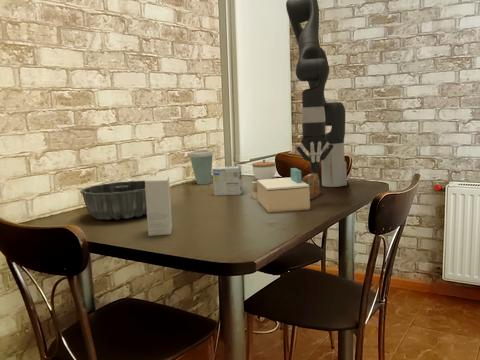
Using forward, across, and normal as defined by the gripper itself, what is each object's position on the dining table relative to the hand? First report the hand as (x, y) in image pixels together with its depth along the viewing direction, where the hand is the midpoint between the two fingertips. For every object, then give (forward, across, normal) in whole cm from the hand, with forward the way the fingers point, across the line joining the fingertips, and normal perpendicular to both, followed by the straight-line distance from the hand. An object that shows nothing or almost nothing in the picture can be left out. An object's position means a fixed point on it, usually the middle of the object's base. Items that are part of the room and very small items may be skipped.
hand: (314, 173), depth 162 cm
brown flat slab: (+11, -2, -12) cm, 16 cm away
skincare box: (+11, +51, +20) cm, 56 cm away
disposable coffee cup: (+10, +35, -64) cm, 73 cm away
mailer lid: (+3, +11, -1) cm, 12 cm away
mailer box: (+10, +11, -1) cm, 15 cm away
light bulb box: (+11, +26, -32) cm, 43 cm away
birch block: (+10, +16, -19) cm, 27 cm away
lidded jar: (+10, +6, -60) cm, 61 cm away
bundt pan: (+11, +64, -8) cm, 66 cm away
